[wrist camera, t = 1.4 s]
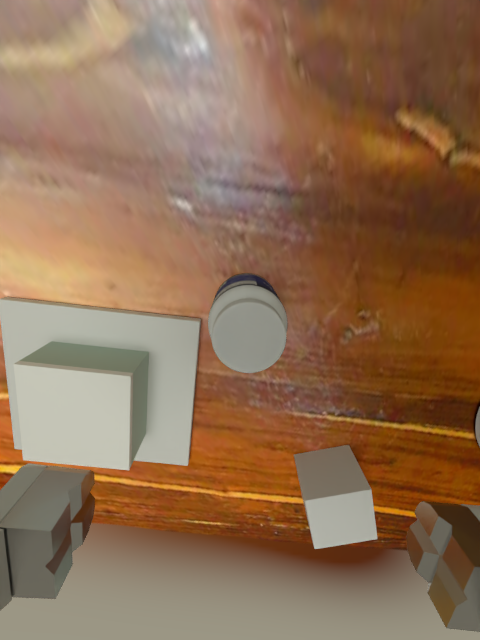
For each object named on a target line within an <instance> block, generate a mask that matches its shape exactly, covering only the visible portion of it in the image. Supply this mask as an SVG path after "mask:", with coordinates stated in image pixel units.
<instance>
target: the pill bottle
mask: <svg viewBox="0 0 480 640" xmlns="http://www.w3.org/2000/svg"><path fill="white" fill-rule="evenodd" d="M287 324H288V323H287V315H286V312H285V309H284V307H283V305H282V303H281V301H280V300H279V298H278V296H277V294H276V293H275V291H274V289H273V288H272V286H271V285H270V284H269V283H268V282H267V281H266V280H265V279H264V278H262V277H260V276H258V275H255V274H249V273H244V274H238V275H235V276H233V277H231V278H229V279H228V280H226V281H225V282H224V283H223V284H222V285H221V287H220V288H219V290H218V291H217V294H216V296H215V299H214V302H213V305H212V307H211V310H210V313H209V319H208V328H209V333H210V336H211V339H212V345H213V349H214V351H215V353H216V355H217V357H218V358H219V359H220V361H221V362H222V363H224V364H225V365H226V366H227V367H229V368H231V369H233V370H235V371H238V372H242V373H255V372H259V371H262V370H265V369H267V368H269V367H270V366H272V365H273V364H274V363H275V362H276V361H277V360H278V359H279V358H280V356H281V355H282V353H283V351H284V348H285V344H286V332H287Z"/></svg>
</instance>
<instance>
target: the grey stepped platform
mask: <svg viewBox="0 0 480 640" xmlns="http://www.w3.org/2000/svg"><path fill="white" fill-rule="evenodd" d="M0 319H1V328H2V338H3V347H4V356H5V365H6V374H7V383H8V393H9V402H10V411H11V420H12V429H13V438H14V448H15V449H21V450H22V453H23V460H28V461H38V462H49V463H59V464H69V465H80V466H90V467H101V468H111V469H121V470H129V469H130V467H131V465H132V463H133V461H134V460H135V461H145V462H155V463H166V464H176V465H186V466H188V462H189V456H190V445H191V433H192V421H193V409H194V397H195V385H196V374H197V362H198V350H199V338H200V326H201V319H200V318H191V317H182V316H173V315H164V314H155V313H146V312H138V311H129V310H120V309H111V308H102V307H93V306H84V305H75V304H66V303H57V302H49V301H40V300H31V299H22V298H13V297H4V298H1V299H0Z"/></svg>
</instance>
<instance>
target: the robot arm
mask: <svg viewBox="0 0 480 640" xmlns="http://www.w3.org/2000/svg"><path fill="white" fill-rule="evenodd" d="M475 432H476V438H477V442H478V445H479V447H480V407H479V410H478V413H477V417H476V423H475ZM94 484H95V481H94V472H93V471H91V470H83V469H74V468H66V467H58V466H45V465H37V464H27V465H25V466H23V467H21V468H20V469H19V470H18V472H17V473H16V474H15V475H14V476H13V477H12V478H11V479H10V480H9V481H8V482H7V484H6V485H5V486H4V487H3V488H2V489H1V490H0V610H1V609H3V608H4V607H5V606H6V605H7V604H8V603H9V602H10V601H11V600H12V597H22V598H48V599H56V597H57V595H58V593H59V591H60V589H61V587H62V585H63V583H64V581H65V579H66V576H67V574H68V573H69V570H70V568H71V566H72V552H73V551H74V550H76V549H77V548H78V547H79V546H81V545H82V544H83V542H84V540H85V538H86V536H87V533H88V531H89V528H90V525H91V522H92V519H93V514H94V508H95V498H94V497H93V496H92V494H91V493H90V491H91V489H92V487H93V486H94ZM415 515H416V517H417V519H418V520H417V521H416V522H415V523H413V524H412V525H411V526H410V527H409V530H408V533H407V537H406V539H407V550H408V553H409V556H410V560H411V562H412V564H413V566H414V568H415V570H416V571H417V573H418V574H420V575H421V576H422V577H423V578H424V579H425V580H426V581H427V582H428V594H429V596H430V598H431V600H432V602H433V604H434V606H435V607H436V610H437V611H438V613H439V615H440V617H441V619H442V621H443V622H444V625H445V627H446V628H450V629H460V630H468V631H477V632H480V506H476V505H464V504H461V505H459V504H451V503H439V502H426V501H422V502H421V503H419V504H418V505H417V508H416V510H415Z"/></svg>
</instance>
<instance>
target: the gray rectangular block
mask: <svg viewBox="0 0 480 640" xmlns="http://www.w3.org/2000/svg"><path fill="white" fill-rule="evenodd" d="M294 458H295V463H296V468H297V473H298V478H299V483H300V488H301V493H302V497H303V502H304V506H305V510H306V515H307V519H308V523H309V527H310V532H311V536H312V540H313V545H314V549H319V548H325V547H331V546H337V545H344V544H350V543H356V542H362V541H368V540H374V539H377V532H376V524H375V516H374V508H373V500H372V491H371V488H370V486H369V484H368V482H367V480H366V478H365V476H364V474H363V472H362V470H361V468H360V466H359V464H358V462H357V460H356V458H355V456H354V454H353V452H352V450H351V448H350V446H349V445H344V446H339V447H333V448H328V449H322V450H317V451H311V452H306V453H300V454H295V455H294Z"/></svg>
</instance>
